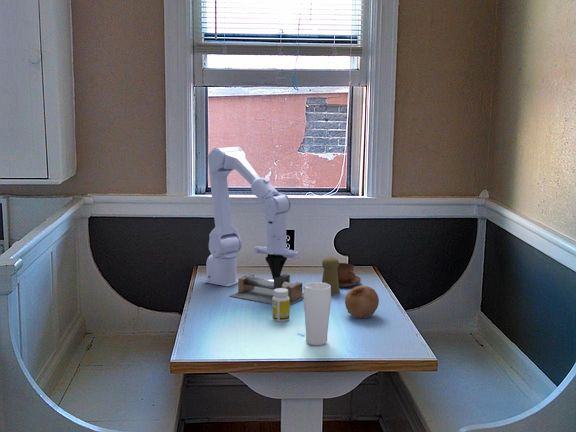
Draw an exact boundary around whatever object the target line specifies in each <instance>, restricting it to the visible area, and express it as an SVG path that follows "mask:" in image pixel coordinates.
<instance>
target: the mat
mask: <svg viewBox="0 0 576 432" xmlns="http://www.w3.org/2000/svg"><path fill="white" fill-rule="evenodd" d="M273 296H274V290H271V289H266V288H260V287H254V289H252V290H250V291H248V292H246V293H244V294H242V293H238V292H235V293H233V294H230V295H229V297H230V298H235V299H241V300H245V301H246V300H247V301H251V302H257V303H263V304H267V305H272V298H273ZM301 300H304V292H302V298H300V299H298V300H296V301H294V302H292V303H291V302H290V306H292V305H294V304H295V303H298V302H300V301H301Z"/></svg>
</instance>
